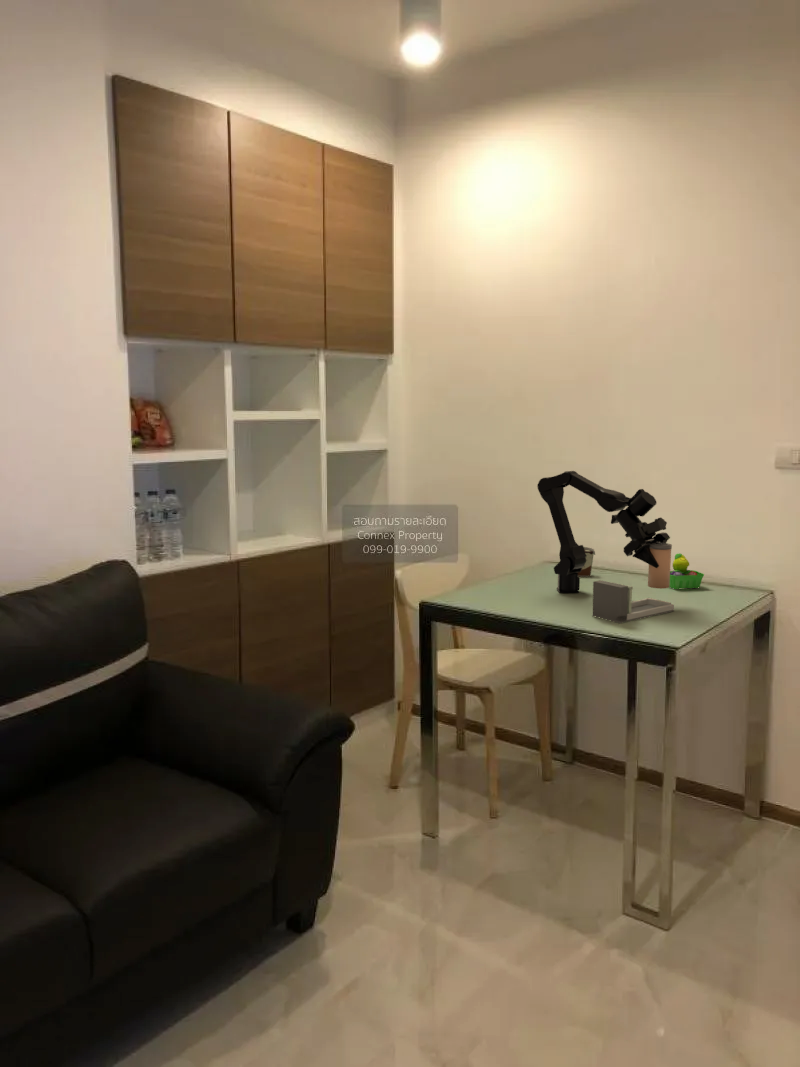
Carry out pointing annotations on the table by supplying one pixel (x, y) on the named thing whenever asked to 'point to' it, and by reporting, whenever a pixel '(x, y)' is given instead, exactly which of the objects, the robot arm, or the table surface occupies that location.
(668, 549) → the jar
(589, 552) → the food container
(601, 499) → the robot arm
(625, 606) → the lane
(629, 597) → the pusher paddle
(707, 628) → the table surface
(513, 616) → the table surface
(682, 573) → the fruit basket
